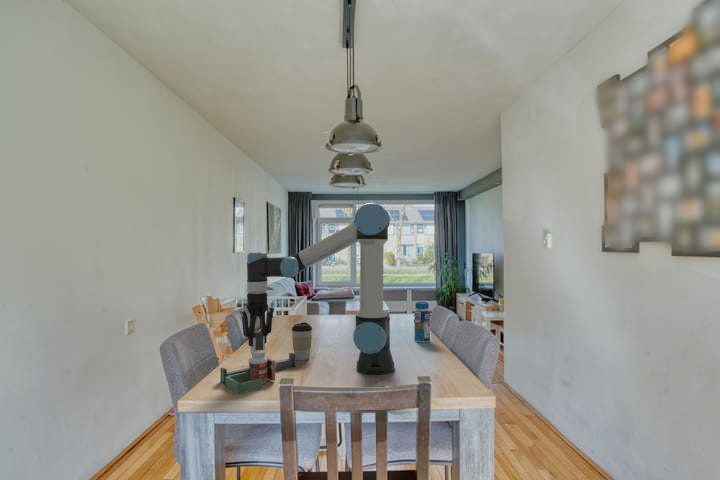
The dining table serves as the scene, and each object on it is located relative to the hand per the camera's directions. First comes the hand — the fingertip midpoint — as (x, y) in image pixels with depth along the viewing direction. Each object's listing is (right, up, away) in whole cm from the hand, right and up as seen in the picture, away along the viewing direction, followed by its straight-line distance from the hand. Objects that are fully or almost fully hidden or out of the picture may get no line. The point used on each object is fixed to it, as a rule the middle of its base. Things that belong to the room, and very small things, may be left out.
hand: (257, 353), depth 149 cm
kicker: (+4, -7, -4) cm, 9 cm away
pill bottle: (+3, -8, -9) cm, 13 cm away
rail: (+1, -8, +1) cm, 8 cm away
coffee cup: (+14, -9, +22) cm, 27 cm away
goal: (-2, -8, -13) cm, 15 cm away
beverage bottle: (+72, -9, +52) cm, 89 cm away
